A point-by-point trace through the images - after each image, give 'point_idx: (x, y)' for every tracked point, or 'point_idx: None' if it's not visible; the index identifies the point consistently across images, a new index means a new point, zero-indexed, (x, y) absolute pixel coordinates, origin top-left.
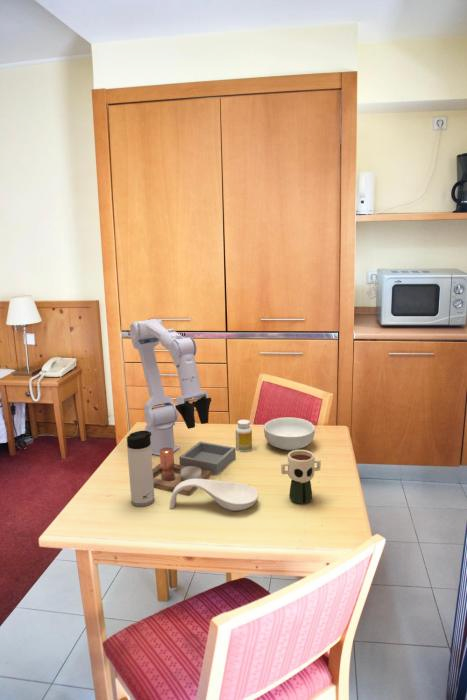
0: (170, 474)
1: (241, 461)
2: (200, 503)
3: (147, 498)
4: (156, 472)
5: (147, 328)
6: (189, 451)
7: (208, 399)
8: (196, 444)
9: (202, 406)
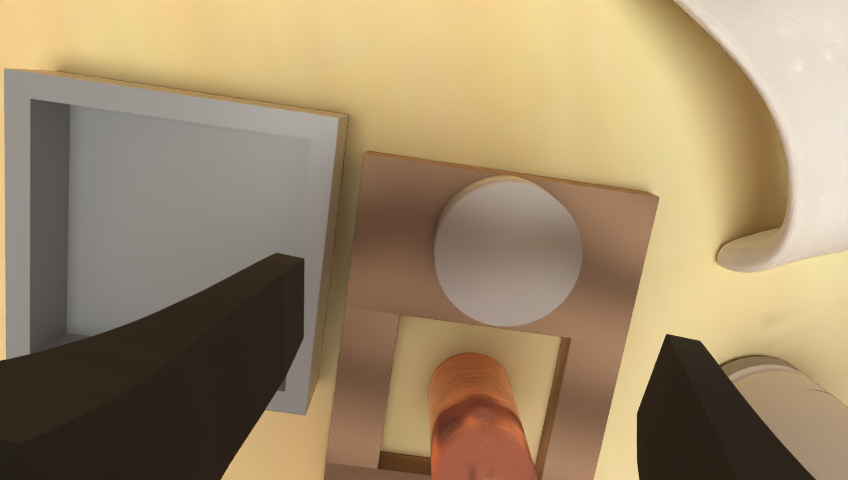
0: (502, 382)
1: (94, 10)
2: (723, 90)
3: (821, 387)
4: None
5: None
6: None
7: (5, 439)
8: None
9: (152, 474)
